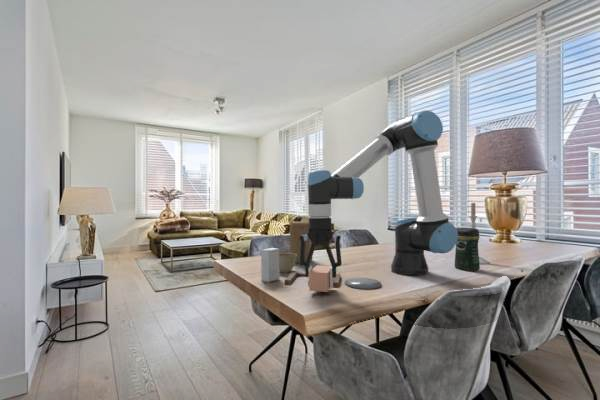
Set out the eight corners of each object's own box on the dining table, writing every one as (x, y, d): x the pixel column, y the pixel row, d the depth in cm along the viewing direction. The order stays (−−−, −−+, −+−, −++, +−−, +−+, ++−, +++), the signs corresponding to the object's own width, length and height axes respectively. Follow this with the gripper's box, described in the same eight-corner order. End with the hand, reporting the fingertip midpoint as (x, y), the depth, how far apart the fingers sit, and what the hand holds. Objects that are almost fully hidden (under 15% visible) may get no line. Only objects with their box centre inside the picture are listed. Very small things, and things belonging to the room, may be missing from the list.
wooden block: (309, 264, 146) (309, 222, 147) (289, 263, 148) (289, 222, 149) (312, 260, 156) (312, 221, 156) (293, 259, 158) (293, 221, 158)
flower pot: (269, 272, 130) (269, 255, 130) (280, 267, 139) (280, 252, 139) (291, 274, 126) (291, 257, 126) (300, 269, 135) (300, 253, 135)
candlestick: (494, 264, 146) (493, 202, 146) (467, 264, 146) (467, 202, 146) (478, 259, 159) (478, 202, 159) (454, 259, 159) (454, 202, 159)
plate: (379, 280, 116) (379, 278, 116) (382, 290, 104) (382, 287, 104) (345, 278, 119) (345, 276, 119) (343, 288, 106) (343, 285, 106)
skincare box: (271, 277, 121) (271, 247, 121) (280, 279, 118) (280, 248, 118) (260, 280, 116) (260, 249, 116) (268, 282, 113) (268, 250, 113)
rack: (340, 277, 121) (340, 273, 121) (338, 287, 107) (338, 282, 107) (292, 275, 125) (292, 271, 125) (284, 284, 111) (284, 280, 111)
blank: (333, 283, 106) (333, 266, 105) (327, 291, 96) (327, 273, 96) (316, 282, 107) (316, 265, 107) (309, 290, 98) (309, 272, 98)
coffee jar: (483, 270, 133) (483, 228, 133) (470, 272, 129) (470, 228, 130) (463, 266, 142) (463, 226, 142) (451, 267, 138) (451, 227, 138)
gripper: (349, 216, 102) (350, 284, 102) (293, 216, 106) (295, 282, 106) (348, 217, 95) (350, 291, 95) (288, 218, 98) (290, 288, 99)
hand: (321, 286), depth 100 cm, fingers closed on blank, 6 cm apart
